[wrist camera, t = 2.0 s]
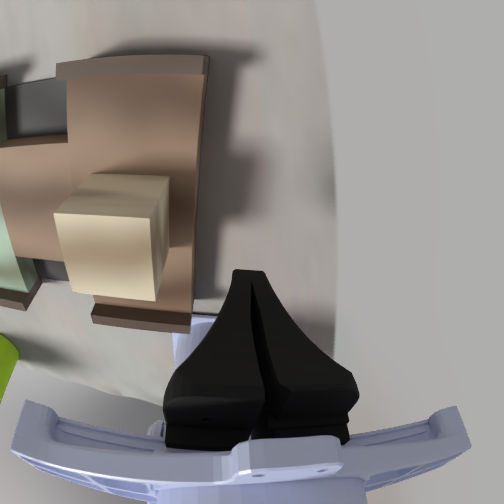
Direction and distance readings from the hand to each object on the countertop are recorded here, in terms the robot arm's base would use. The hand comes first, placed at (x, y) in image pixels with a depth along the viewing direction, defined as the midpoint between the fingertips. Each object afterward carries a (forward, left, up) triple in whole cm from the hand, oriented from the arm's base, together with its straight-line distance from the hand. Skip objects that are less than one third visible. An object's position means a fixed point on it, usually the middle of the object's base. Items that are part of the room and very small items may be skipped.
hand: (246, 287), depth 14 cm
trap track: (0, +15, -9) cm, 17 cm away
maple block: (0, +7, -6) cm, 9 cm away
